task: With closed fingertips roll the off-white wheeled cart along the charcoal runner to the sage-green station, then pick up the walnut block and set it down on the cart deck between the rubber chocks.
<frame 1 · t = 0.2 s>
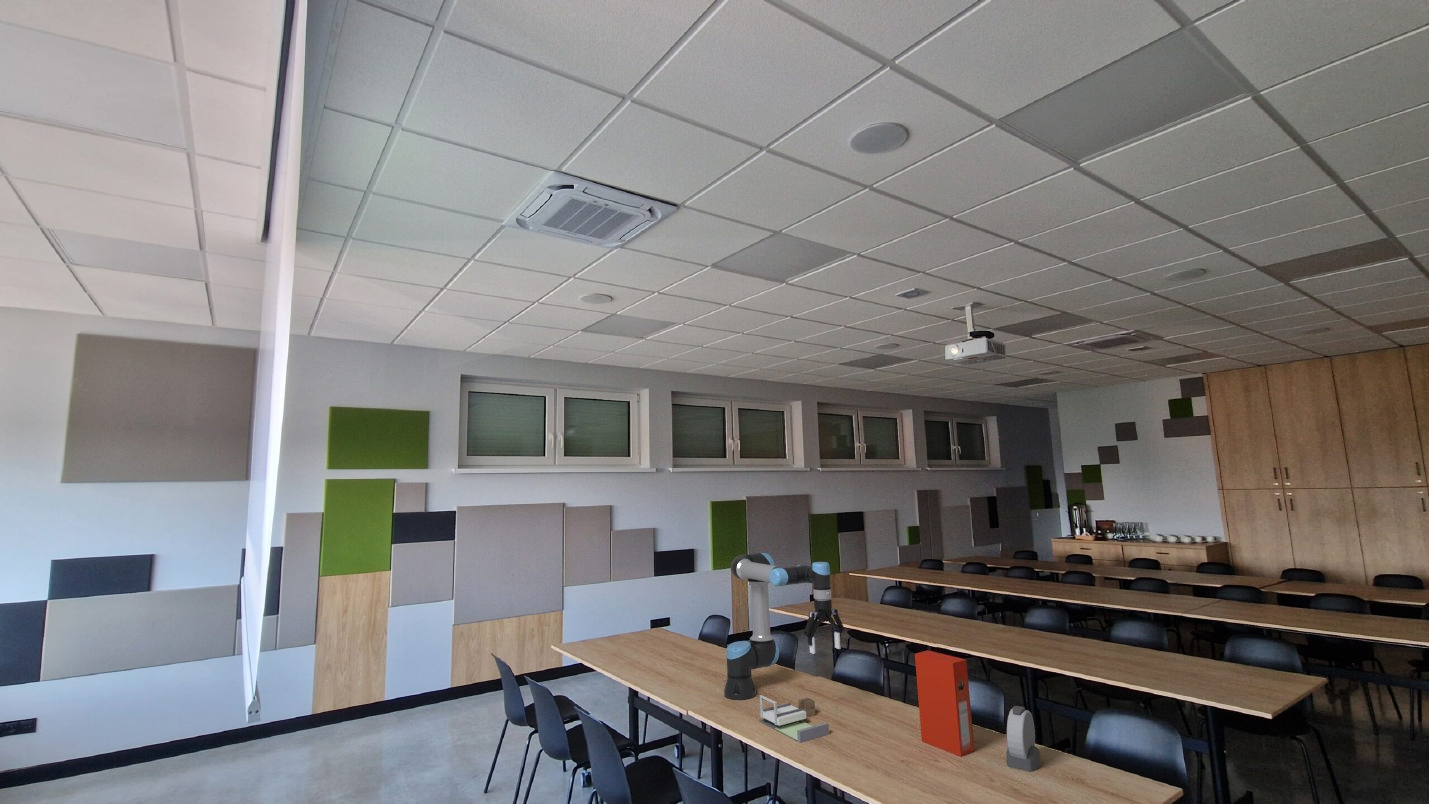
hand: (825, 650, 266), 28 cm above the table, fingers open, 13 cm apart
runner: (791, 726, 255), on the table
cart: (782, 708, 260), point 6 cm above the table, slide at 0.0 cm
alarm clock: (1023, 763, 216), on the table
file binder: (947, 746, 231), on the table
block: (806, 714, 268), on the table
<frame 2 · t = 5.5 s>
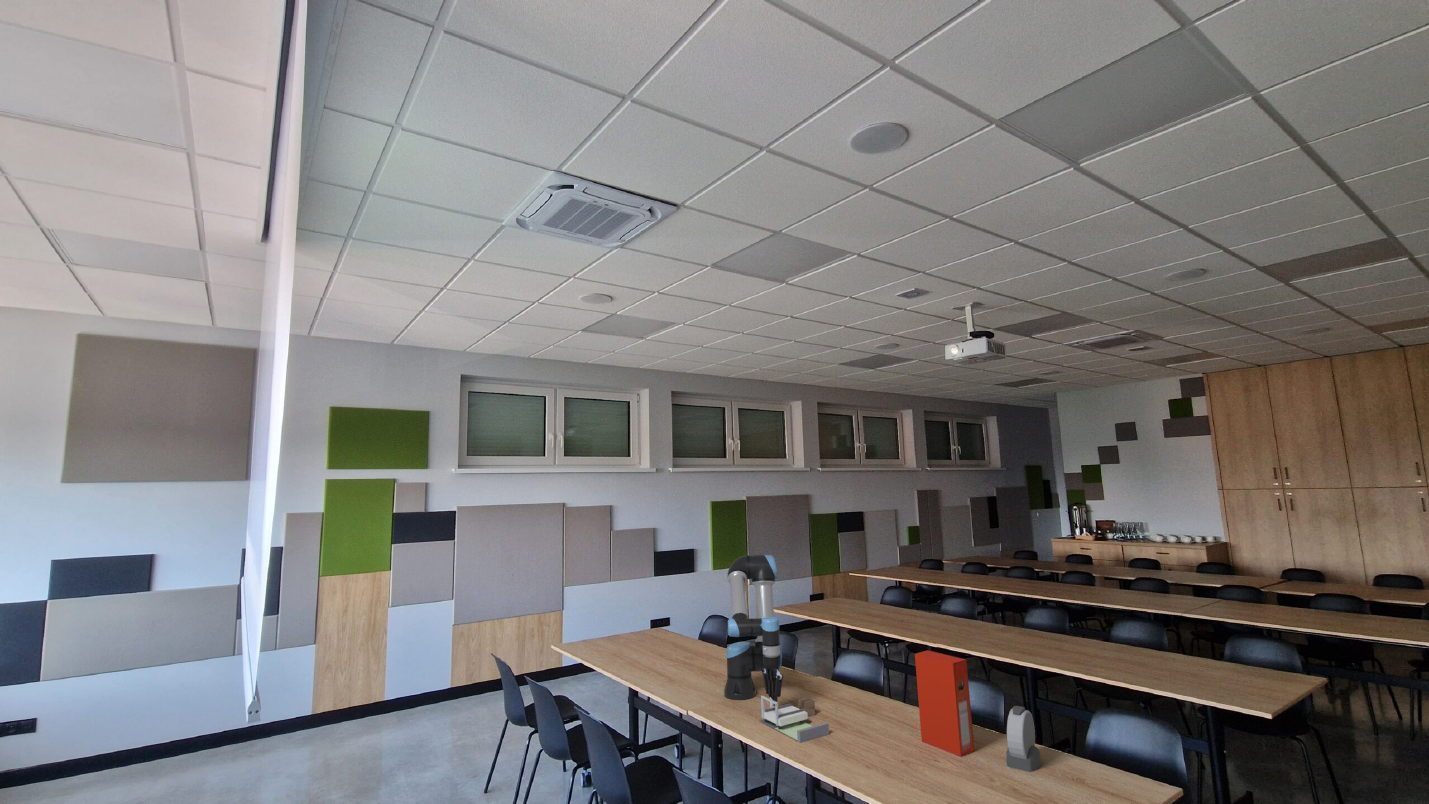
hand: (773, 713, 265), 2 cm above the table, fingers closed
cart: (783, 708, 259), point 6 cm above the table, slide at 0.9 cm, touching gripper
everything else where it was.
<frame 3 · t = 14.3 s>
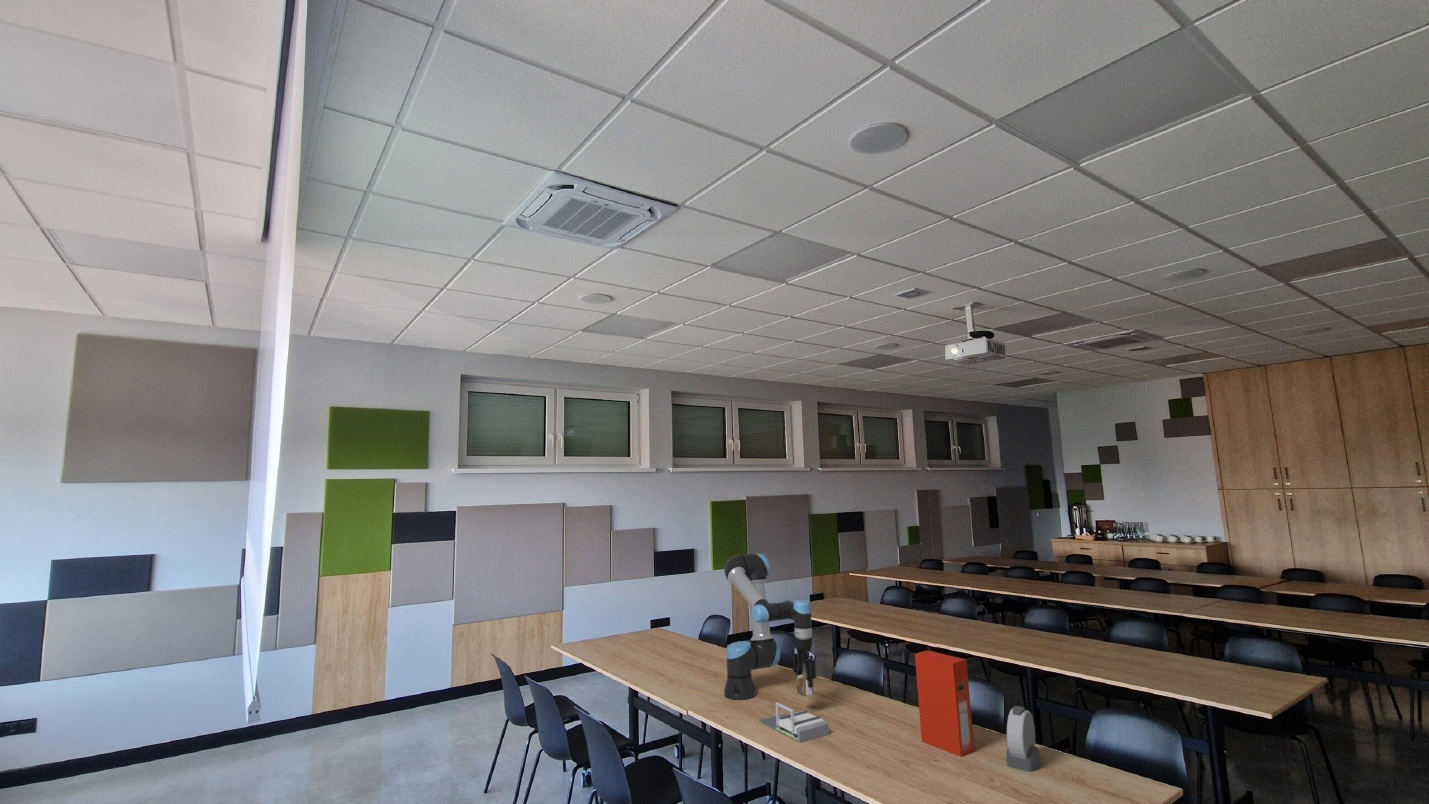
hand: (805, 692, 270), 9 cm above the table, fingers closed on block, 5 cm apart
cart: (799, 716, 251), point 6 cm above the table, slide at 11.2 cm
block: (805, 693, 270), point 8 cm above the table, touching gripper
everything else where it was.
when the fingers open (5 cm above the table, at t = 19.4 s): block stays where it is, resting on cart.
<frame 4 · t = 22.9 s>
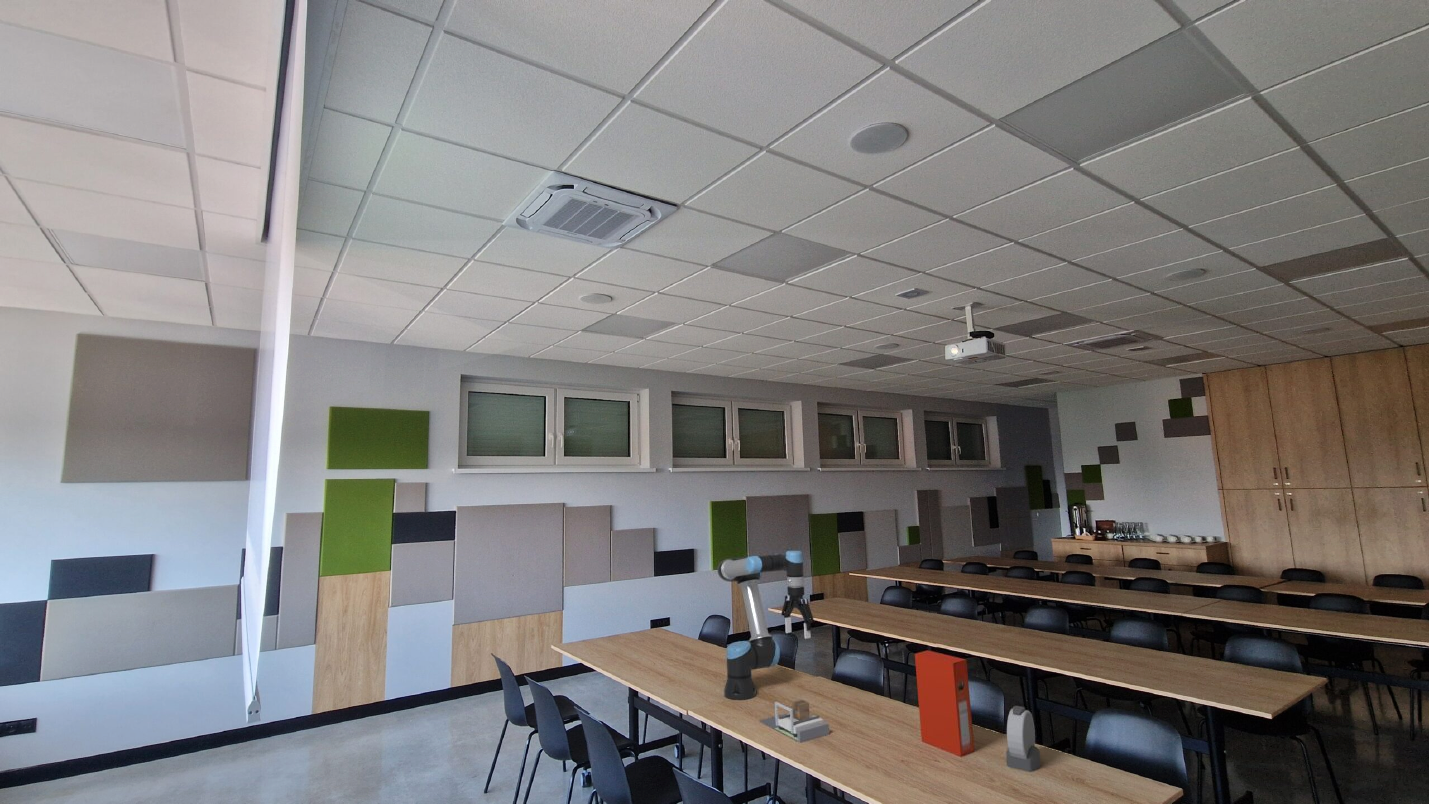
hand: (797, 635, 278), 32 cm above the table, fingers open, 13 cm apart
cart: (798, 715, 251), point 6 cm above the table, slide at 10.7 cm, touching block
block: (800, 717, 252), point 5 cm above the table, touching cart
everything else where it was.
at the end: cart slide at 10.7 cm; block inside the target area on the cart (1.0 cm from its centre), point 4.7 cm above the cart's base; the gripper is holding nothing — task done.
